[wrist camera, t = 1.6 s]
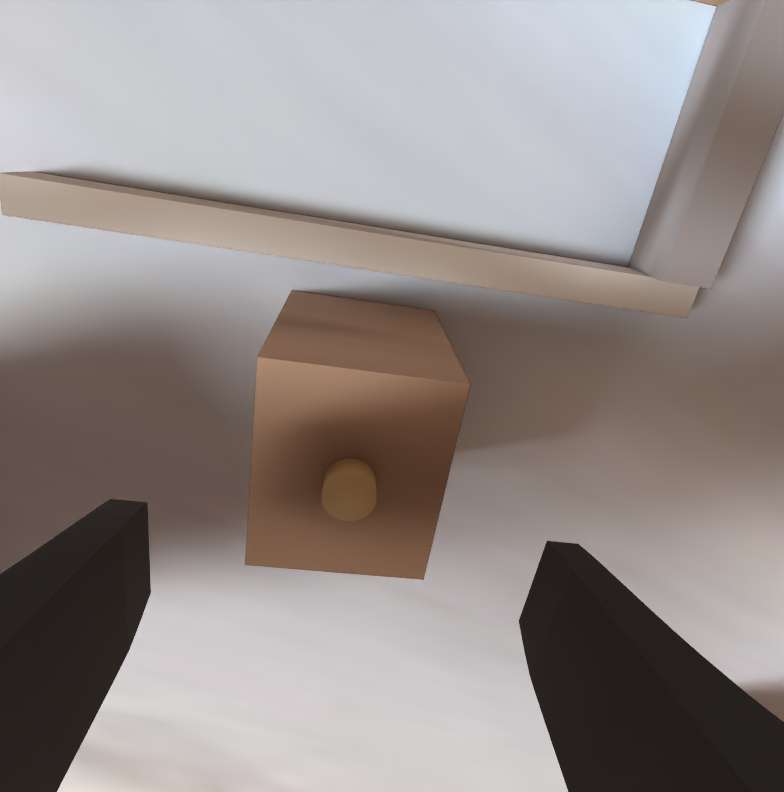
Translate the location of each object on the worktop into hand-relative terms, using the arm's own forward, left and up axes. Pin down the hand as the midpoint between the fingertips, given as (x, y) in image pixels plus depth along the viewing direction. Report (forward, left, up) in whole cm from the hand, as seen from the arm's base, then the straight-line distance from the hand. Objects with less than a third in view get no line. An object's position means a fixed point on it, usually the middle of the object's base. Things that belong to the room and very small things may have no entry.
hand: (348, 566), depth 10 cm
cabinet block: (0, 0, -9) cm, 9 cm away
